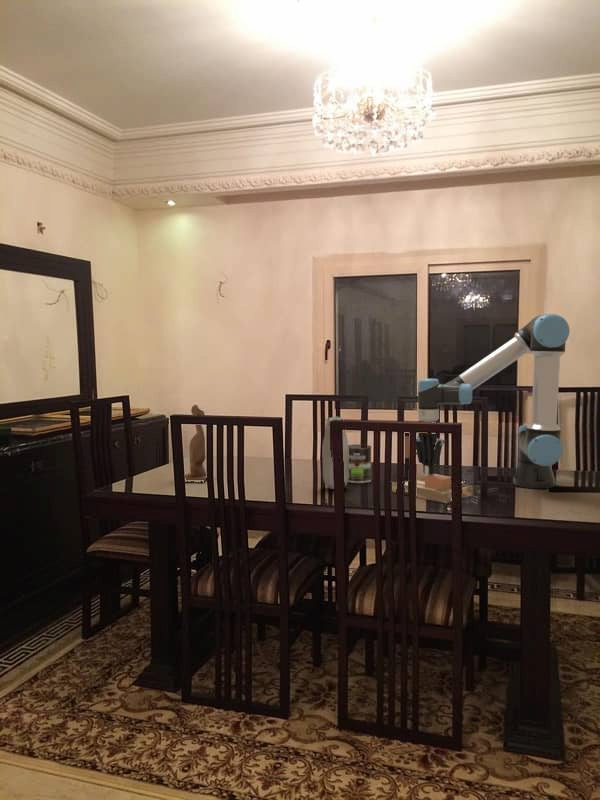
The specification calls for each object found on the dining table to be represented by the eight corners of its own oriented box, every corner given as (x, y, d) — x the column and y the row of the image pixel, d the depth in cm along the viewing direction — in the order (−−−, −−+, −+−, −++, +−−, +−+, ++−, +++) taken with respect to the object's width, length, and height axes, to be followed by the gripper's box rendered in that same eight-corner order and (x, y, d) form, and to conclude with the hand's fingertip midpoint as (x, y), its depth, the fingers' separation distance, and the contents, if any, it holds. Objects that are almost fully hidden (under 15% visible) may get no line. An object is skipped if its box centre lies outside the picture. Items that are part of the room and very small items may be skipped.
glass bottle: (348, 492, 236) (347, 418, 234) (321, 491, 238) (320, 418, 235) (350, 486, 246) (349, 415, 243) (324, 485, 248) (323, 415, 245)
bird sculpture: (206, 484, 256) (206, 406, 253) (179, 483, 258) (179, 405, 255) (215, 478, 267) (215, 404, 264) (188, 477, 269) (188, 403, 266)
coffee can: (369, 483, 250) (369, 448, 249) (344, 482, 252) (343, 448, 251) (373, 478, 260) (372, 444, 259) (348, 477, 262) (348, 444, 261)
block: (434, 484, 237) (434, 473, 237) (452, 487, 231) (452, 477, 231) (424, 486, 233) (424, 476, 233) (442, 490, 227) (442, 479, 227)
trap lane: (415, 484, 247) (415, 475, 247) (472, 495, 227) (472, 485, 227) (388, 491, 236) (388, 482, 236) (446, 503, 217) (446, 493, 217)
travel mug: (415, 479, 256) (415, 430, 254) (397, 478, 259) (396, 430, 257) (418, 475, 263) (418, 428, 262) (400, 474, 266) (400, 427, 264)
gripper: (408, 419, 236) (408, 481, 238) (436, 422, 226) (436, 486, 228) (420, 417, 241) (421, 478, 243) (449, 420, 231) (449, 483, 233)
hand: (428, 482), depth 236 cm, fingers closed
